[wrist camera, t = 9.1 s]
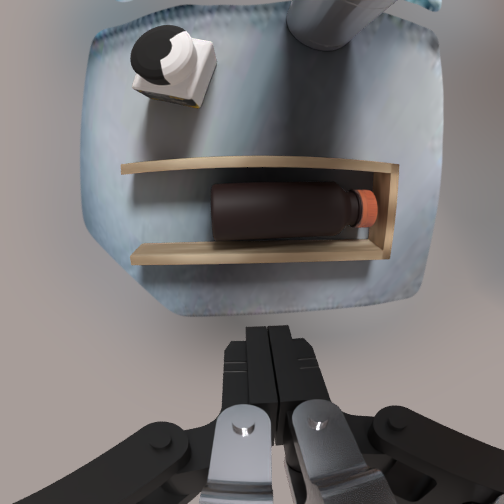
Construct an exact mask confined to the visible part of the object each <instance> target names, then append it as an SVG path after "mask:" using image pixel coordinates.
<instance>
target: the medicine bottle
mask: <svg viewBox="0 0 504 504" xmlns="http://www.w3.org/2000/svg"><path fill="white" fill-rule="evenodd" d="M130 59H131V65H132V68H133V69H134V71H135V72H136V76H135V79H134V81H133V84H132V88H133V89H134V90H136V91H138V92H140V93H142V94H143V95H145V96H147V97H149V98H151V99H156V100H161V101H166V102H171V103H176V104H180V105H185V106H189V107H193V108H200V107H201V104H202V102H203V99H204V96H205V93H206V90H207V87H208V85H209V82H210V79H211V77H212V74H213V71H214V69H215V66H216V64H217V59H216V55H215V51H214V47H213V43H212V42H210V41H205V40H200V39H194V38H191V37H190V35H189V34H188V33H187V32H186V31H185V30H184V29H182V28H180V27H178V26H173V25H163V26H158V27H155V28H153V29H151V30H149V31H147V32H146V33H144V34H143V35H142V36H141V37H140V38H139V39H138V40H137V41H136V43H135V44H134V46H133V49H132V51H131V58H130Z"/></svg>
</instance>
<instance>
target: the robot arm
mask: <svg viewBox="0 0 504 504" xmlns="http://www.w3.org/2000/svg"><path fill="white" fill-rule="evenodd" d="M396 1H397V0H292V2H291V5H290V7H289V10H288V13H287V25H288V28H289V30H290V31H291V33H292V34H293V35H294V37H295V38H296V39H298V40H299V41H300V42H301V43H303V44H305V45H306V46H308V47H311V48H314V49H317V50H322V51H331V50H336V49H339V48H341V47H343V46H344V45H346V44H347V43H348V42H349V41H350V40H351V39H352V38H353V37H354V36H356V35H357V34H358V33H359V32H360V31H361V30H363V29H364V28H365V27H366V26H367V25H368V24H370V23H371V22H372V21H373V20H374V19H375V18H377V17H378V16H379V15H380V14H381V13H383V12H384V11H385V10H386V9H387V8H389V7H390V6H391V5H392V4H394V3H395V2H396ZM224 354H225V355H224V373H223V393H222V409H221V412H220V414H219V415H218V417H217V418H216V419H215V420H214V421H212V422H211V423H209V424H207V425H205V426H202V427H198V428H194V429H189V430H183V429H181V428H180V427H179V426H177V425H175V424H173V423H169V422H154V423H151V424H148V425H146V426H144V427H143V428H141V429H140V430H139V431H137V432H136V433H134V434H133V435H131V436H130V437H128V438H127V439H125V440H124V441H122V442H121V443H119V444H118V445H116V446H115V447H113V448H112V449H110V450H108V451H107V452H105V453H104V454H102V455H100V456H99V457H97V458H96V459H94V460H93V461H91V462H89V463H88V464H86V465H84V466H82V467H81V468H79V469H77V470H76V471H74V472H72V473H71V474H69V475H67V476H66V477H64V478H62V479H60V480H58V481H56V482H55V483H53V484H51V485H49V486H47V487H45V488H43V489H42V490H40V491H38V492H36V493H34V494H32V495H30V496H28V497H26V498H24V499H22V500H20V501H18V502H15V503H13V504H187V503H188V502H190V501H191V500H192V499H193V498H194V497H196V496H197V495H198V494H199V493H200V492H201V495H200V501H199V504H273V490H272V479H271V478H272V473H271V472H272V470H271V447H272V446H273V445H274V437H275V444H276V445H284V450H285V460H284V467H285V471H286V475H287V478H288V482H289V487H290V491H291V495H292V499H293V503H294V504H504V450H501V449H499V448H496V447H493V446H491V445H488V444H485V443H483V442H481V441H478V440H476V439H474V438H471V437H469V436H466V435H464V434H462V433H459V432H457V431H455V430H453V429H450V428H448V427H446V426H443V425H441V424H439V423H437V422H435V421H433V420H431V419H428V418H427V417H424V416H422V415H420V414H418V413H416V412H414V411H412V410H410V409H408V408H405V407H402V406H388V407H385V408H383V409H381V410H380V411H379V412H378V413H377V414H376V415H375V417H370V416H356V415H350V414H347V413H344V412H342V411H341V409H340V408H339V407H338V406H337V405H335V404H334V403H332V402H331V400H330V398H329V394H328V391H327V388H326V386H325V382H324V380H323V376H322V374H321V371H320V368H319V365H318V362H317V359H316V356H315V354H314V350H313V348H312V346H311V345H310V344H309V343H308V342H307V341H306V340H305V339H304V338H298V339H292V337H291V333H290V329H289V326H288V325H283V326H268V327H267V328H266V326H264V327H263V326H262V327H246V341H231V342H230V344H229V345H228V346H227V348H226V350H225V352H224Z"/></svg>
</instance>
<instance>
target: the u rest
mask: <svg viewBox="0 0 504 504" xmlns="http://www.w3.org/2000/svg"><path fill="white" fill-rule="evenodd" d="M225 167H302V168H327V169H345V170H360V171H372V172H373V190H372V192H373V194H374V195H375V198H376V201H377V207H378V209H377V218H376V221H375V223H374V225H373V226H371V227H369V236H368V239H340V240H269V241H219V242H179V243H144V244H141V245H140V246H139V247H138V248H137V249H136V250H135V251H134V253H133V254H132V255H131V256H130V259H131V265H183V264H238V263H281V262H318V261H351V260H380V259H390V254H391V247H392V240H393V232H394V224H395V215H396V205H397V193H398V179H399V164H391V163H384V162H375V161H364V160H353V159H339V158H323V157H300V156H220V157H197V158H181V159H168V160H156V161H145V162H136V163H128V164H121V175H123V174H133V173H143V172H154V171H167V170H181V169H199V168H225Z"/></svg>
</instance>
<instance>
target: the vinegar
mask: <svg viewBox="0 0 504 504" xmlns="http://www.w3.org/2000/svg"><path fill="white" fill-rule="evenodd" d="M377 209H378V207H377V201H376V198H375V195H374V194H373V192H371V191H370V190H350V191H348V192H345V191H344V190H343V189H342V187H341V186H339V185H338V184H337V183H336V182H250V183H225V184H214V185H212V187H211V218H212V230H213V237H214V239H215V240H216V241H231V240H251V239H272V238H293V237H317V236H335V235H337V234H339V233H340V232H341V231H342V230H343V229H344V228H345V227H346V225H349V226H350V227H355V228H361V227H371V226H373V225H374V223H375V221H376V218H377Z"/></svg>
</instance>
